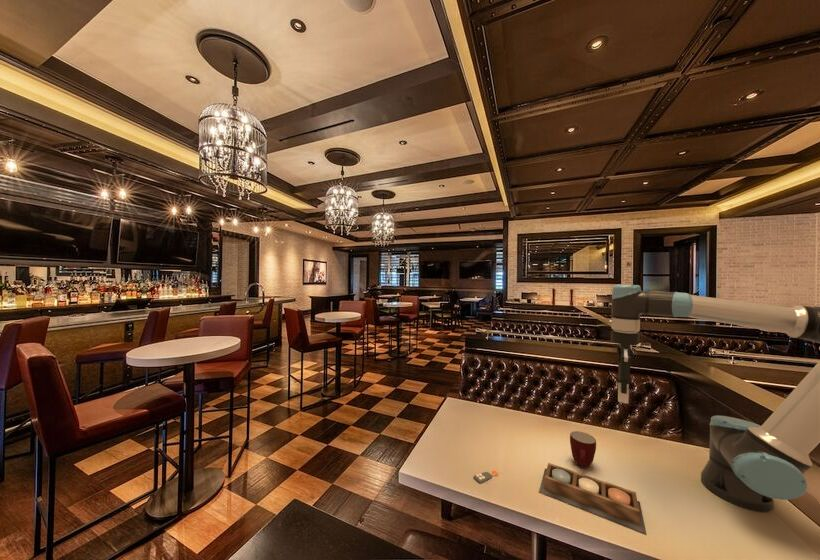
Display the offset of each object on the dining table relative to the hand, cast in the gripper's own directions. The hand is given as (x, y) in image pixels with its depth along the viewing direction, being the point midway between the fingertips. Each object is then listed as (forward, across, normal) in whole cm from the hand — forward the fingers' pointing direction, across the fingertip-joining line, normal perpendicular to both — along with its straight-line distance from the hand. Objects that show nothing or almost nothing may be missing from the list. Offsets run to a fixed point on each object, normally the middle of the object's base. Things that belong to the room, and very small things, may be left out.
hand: (623, 401), depth 94 cm
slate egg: (+25, +15, -17) cm, 34 cm away
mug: (+27, -1, -11) cm, 29 cm away
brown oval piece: (+25, +15, -2) cm, 30 cm away
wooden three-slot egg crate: (+26, +15, -9) cm, 32 cm away
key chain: (+27, +22, -37) cm, 51 cm away
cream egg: (+25, +15, -9) cm, 31 cm away
